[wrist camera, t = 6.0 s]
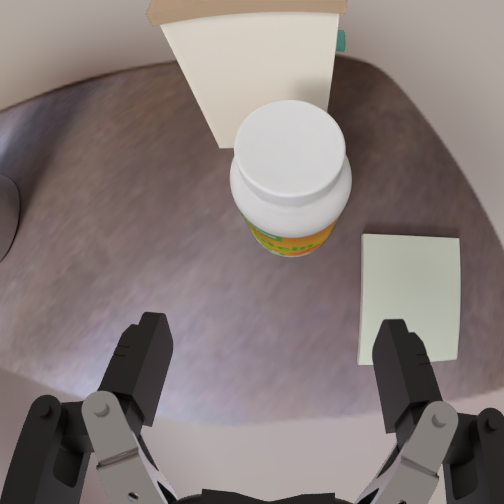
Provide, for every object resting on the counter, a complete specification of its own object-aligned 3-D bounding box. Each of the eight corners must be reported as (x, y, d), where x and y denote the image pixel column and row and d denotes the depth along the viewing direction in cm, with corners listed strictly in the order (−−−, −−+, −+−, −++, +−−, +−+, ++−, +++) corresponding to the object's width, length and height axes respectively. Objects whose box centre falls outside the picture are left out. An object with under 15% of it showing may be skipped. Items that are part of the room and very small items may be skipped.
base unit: (215, 150, 21) (143, 14, 9) (222, 91, 22) (172, -44, 10) (332, 151, 20) (363, 0, 8) (328, 90, 21) (342, -54, 9)
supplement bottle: (240, 248, 20) (195, 201, 11) (259, 170, 21) (234, 78, 11) (324, 266, 19) (355, 232, 10) (339, 185, 20) (370, 99, 11)
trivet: (356, 363, 18) (358, 364, 18) (361, 235, 19) (363, 233, 19) (452, 358, 17) (456, 359, 17) (455, 239, 18) (459, 238, 18)
